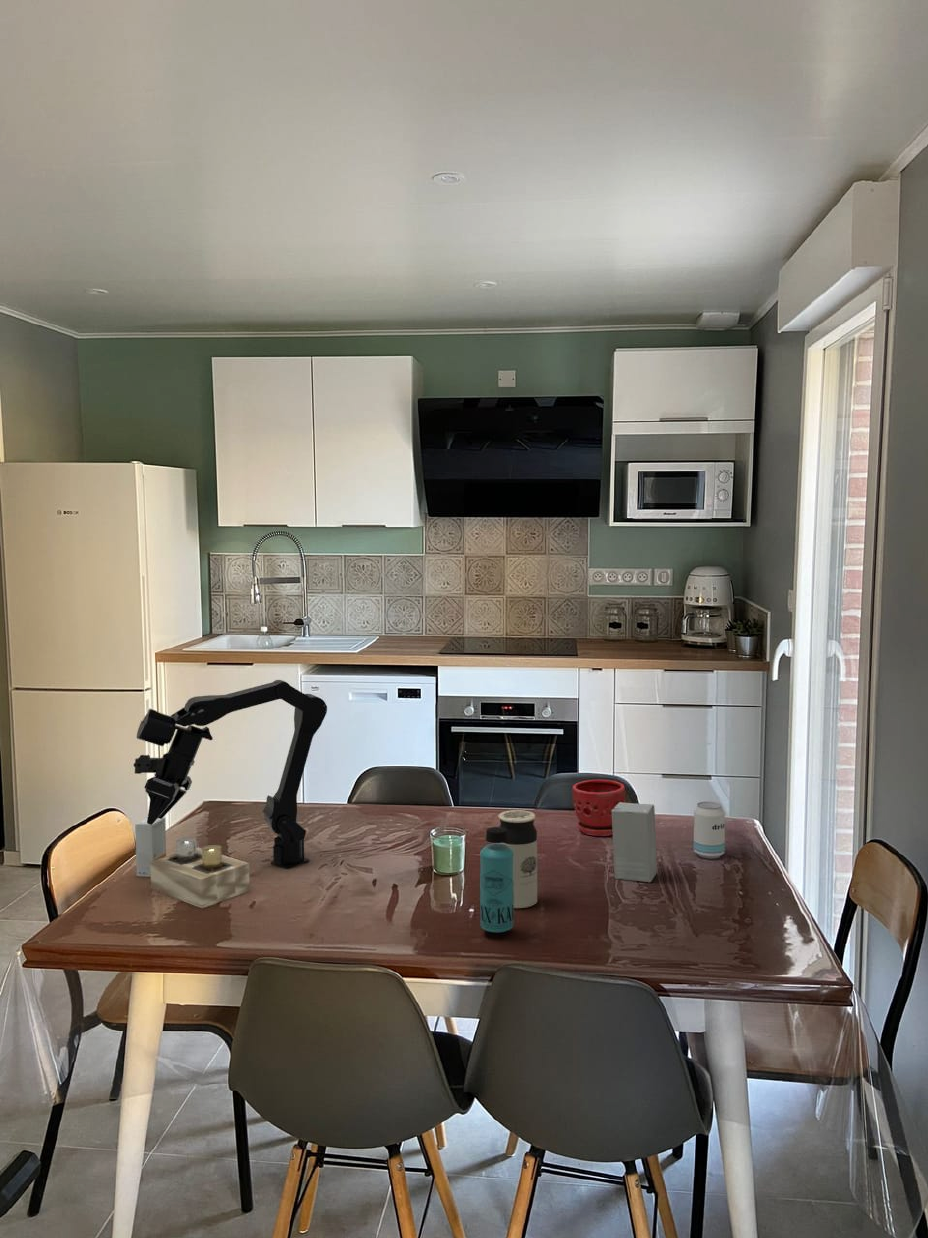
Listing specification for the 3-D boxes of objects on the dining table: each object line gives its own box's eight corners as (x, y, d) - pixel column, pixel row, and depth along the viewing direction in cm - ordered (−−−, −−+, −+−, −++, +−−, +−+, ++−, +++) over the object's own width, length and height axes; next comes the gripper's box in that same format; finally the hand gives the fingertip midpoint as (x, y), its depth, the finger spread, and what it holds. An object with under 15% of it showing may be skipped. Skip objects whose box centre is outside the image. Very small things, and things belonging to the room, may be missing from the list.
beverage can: (713, 862, 210) (713, 810, 209) (687, 855, 215) (687, 804, 214) (730, 855, 214) (730, 805, 214) (704, 848, 220) (705, 799, 219)
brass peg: (214, 867, 196) (213, 844, 196) (226, 870, 194) (225, 847, 194) (198, 872, 193) (197, 848, 193) (210, 876, 191) (209, 852, 190)
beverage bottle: (478, 927, 175) (476, 824, 174) (512, 925, 176) (511, 822, 174) (481, 941, 169) (480, 834, 167) (517, 940, 169) (516, 833, 168)
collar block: (198, 873, 207) (197, 847, 207) (249, 891, 196) (248, 863, 195) (151, 889, 198) (150, 861, 197) (201, 908, 186) (200, 879, 186)
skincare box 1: (153, 878, 205) (151, 825, 204) (136, 876, 205) (134, 824, 205) (167, 868, 211) (165, 817, 210) (150, 867, 211) (148, 816, 211)
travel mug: (491, 898, 190) (490, 812, 189) (526, 892, 193) (525, 807, 192) (508, 912, 183) (507, 822, 181) (544, 905, 186) (543, 817, 184)
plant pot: (588, 821, 243) (587, 776, 243) (633, 829, 236) (633, 783, 235) (563, 833, 233) (563, 787, 232) (610, 842, 225) (610, 794, 224)
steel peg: (189, 858, 202) (188, 836, 202) (200, 862, 200) (199, 839, 199) (173, 863, 199) (172, 840, 199) (184, 867, 196) (183, 844, 196)
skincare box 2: (657, 874, 203) (657, 803, 202) (649, 885, 196) (649, 812, 195) (619, 869, 206) (619, 799, 205) (611, 879, 200) (610, 807, 199)
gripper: (157, 737, 210) (130, 803, 208) (136, 742, 191) (106, 813, 190) (203, 755, 211) (177, 820, 209) (187, 760, 192) (158, 832, 190)
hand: (154, 821), depth 200 cm, fingers open, 9 cm apart
